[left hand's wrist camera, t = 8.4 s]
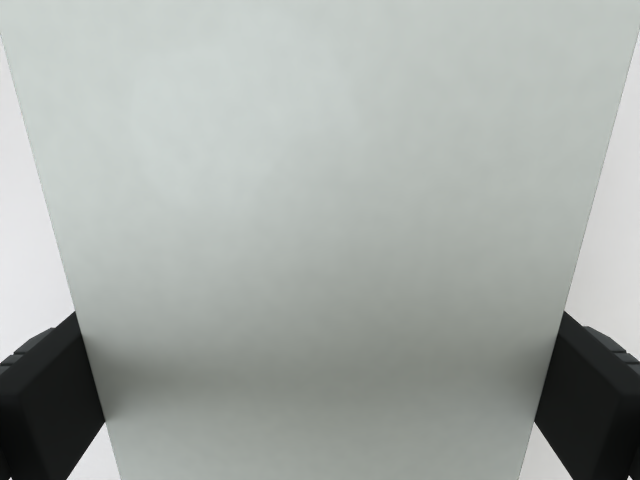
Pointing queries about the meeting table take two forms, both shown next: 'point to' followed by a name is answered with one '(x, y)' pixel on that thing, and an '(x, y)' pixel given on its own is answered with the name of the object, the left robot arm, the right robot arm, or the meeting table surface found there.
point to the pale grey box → (319, 220)
